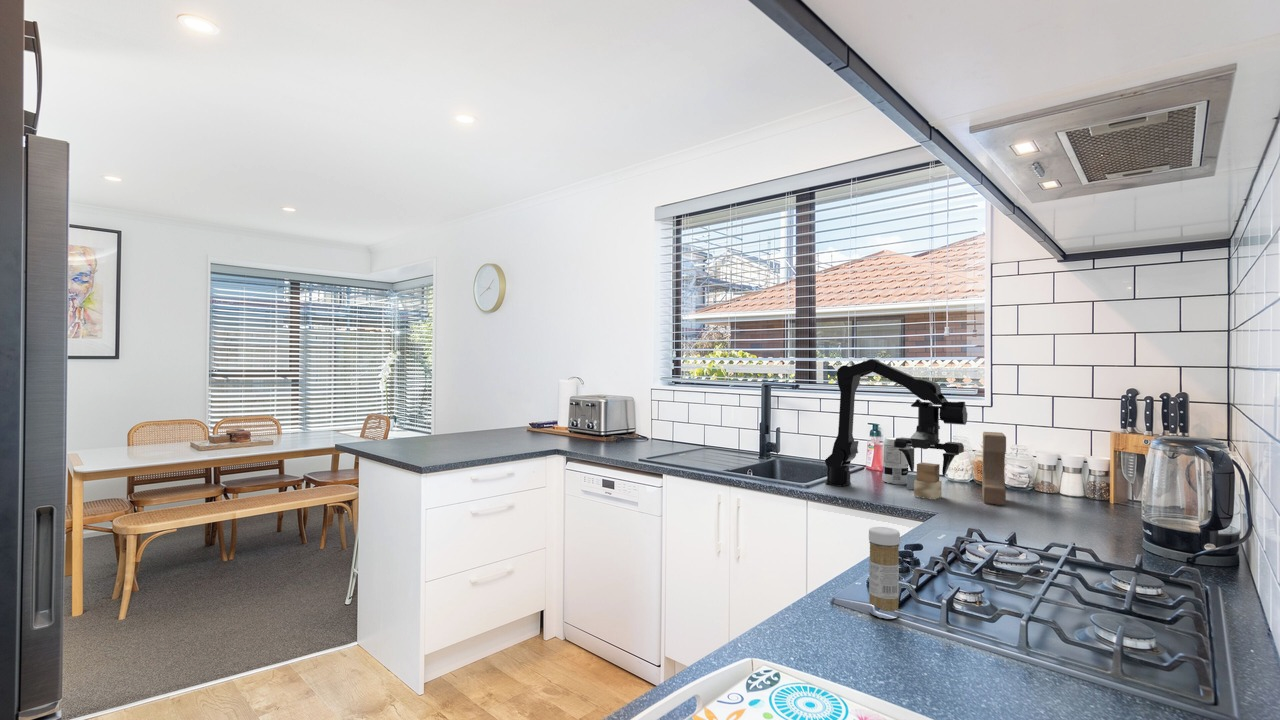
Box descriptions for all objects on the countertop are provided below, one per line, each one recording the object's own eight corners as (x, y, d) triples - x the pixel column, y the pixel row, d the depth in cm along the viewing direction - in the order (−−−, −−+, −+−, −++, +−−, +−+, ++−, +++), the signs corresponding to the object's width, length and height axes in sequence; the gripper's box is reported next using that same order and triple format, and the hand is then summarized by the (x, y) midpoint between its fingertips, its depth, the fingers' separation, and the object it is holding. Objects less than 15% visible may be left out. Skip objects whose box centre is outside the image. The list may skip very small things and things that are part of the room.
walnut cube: (922, 478, 192) (922, 462, 192) (939, 480, 188) (939, 464, 188) (916, 480, 188) (916, 464, 188) (933, 482, 185) (934, 466, 185)
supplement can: (877, 480, 214) (878, 437, 214) (900, 480, 215) (900, 437, 215) (889, 484, 206) (890, 440, 206) (913, 484, 207) (913, 440, 207)
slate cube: (906, 489, 199) (906, 474, 199) (908, 487, 204) (908, 471, 204) (923, 491, 197) (923, 475, 197) (924, 488, 201) (925, 473, 201)
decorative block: (1005, 506, 177) (1006, 436, 177) (982, 503, 179) (983, 434, 179) (1003, 498, 186) (1004, 432, 187) (982, 496, 189) (982, 431, 189)
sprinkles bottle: (896, 611, 99) (897, 526, 99) (901, 622, 94) (902, 534, 94) (866, 608, 100) (866, 524, 100) (870, 619, 95) (871, 532, 95)
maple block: (914, 497, 188) (914, 480, 188) (920, 494, 192) (921, 478, 192) (934, 500, 184) (935, 483, 184) (941, 497, 188) (941, 480, 188)
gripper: (887, 421, 189) (886, 472, 189) (952, 426, 176) (952, 481, 176) (901, 419, 197) (900, 468, 197) (964, 424, 184) (964, 476, 184)
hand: (927, 473), depth 188 cm, fingers open, 9 cm apart
